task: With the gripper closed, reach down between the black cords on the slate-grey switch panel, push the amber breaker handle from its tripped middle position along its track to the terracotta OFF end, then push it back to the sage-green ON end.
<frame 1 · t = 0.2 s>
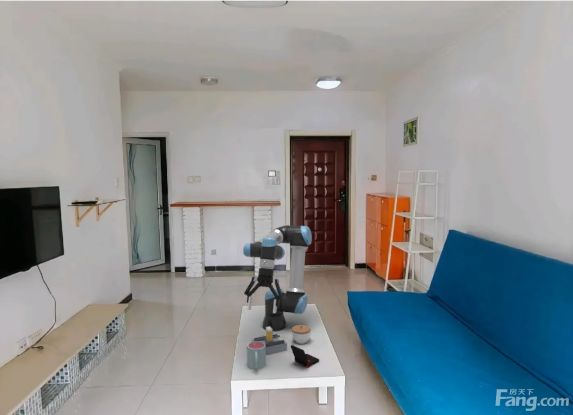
hand: (261, 311, 183), 27 cm above the table, tool tilted 20°, fingers open, 13 cm apart
lidded jar: (301, 341, 211), on the table
handheld gaming console: (304, 363, 187), on the table
switch panel: (269, 348, 203), on the table
breaker handle: (269, 334, 202), point 8 cm above the table, slide at 0.0 cm
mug: (256, 367, 183), on the table
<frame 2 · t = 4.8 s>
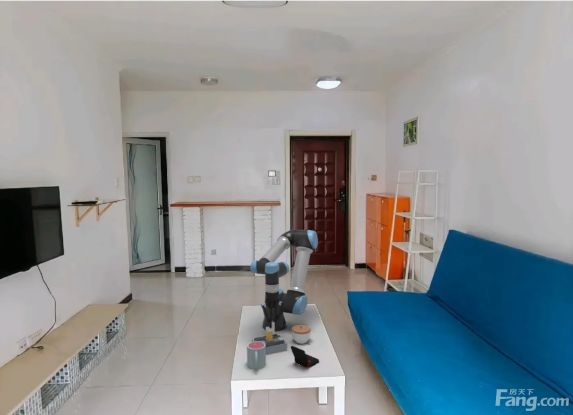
hand: (272, 333, 203), 9 cm above the table, tool pointing down, fingers closed
breaker handle: (269, 334, 202), point 8 cm above the table, slide at 0.0 cm, touching gripper
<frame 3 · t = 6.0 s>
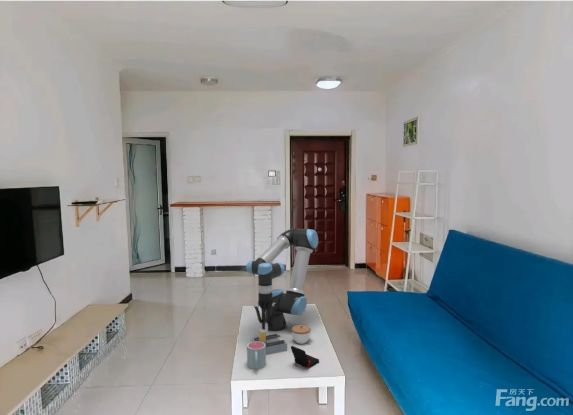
hand: (265, 334, 201), 8 cm above the table, tool pointing down, fingers closed
breaker handle: (262, 335, 200), point 8 cm above the table, slide at 3.9 cm, touching gripper
everything else where it was.
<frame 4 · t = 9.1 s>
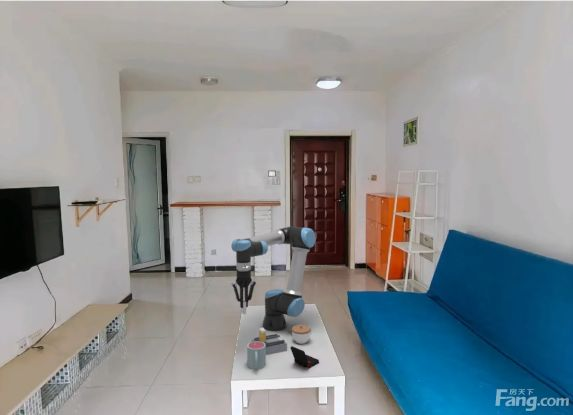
hand: (244, 313, 195), 22 cm above the table, tool pointing down, fingers closed
breaker handle: (262, 335, 200), point 8 cm above the table, slide at 3.9 cm
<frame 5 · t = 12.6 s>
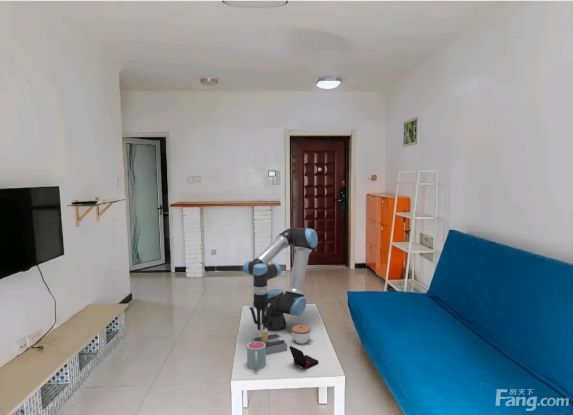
hand: (261, 335, 200), 8 cm above the table, tool pointing down, fingers closed
breaker handle: (264, 335, 201), point 8 cm above the table, slide at 2.6 cm, touching gripper
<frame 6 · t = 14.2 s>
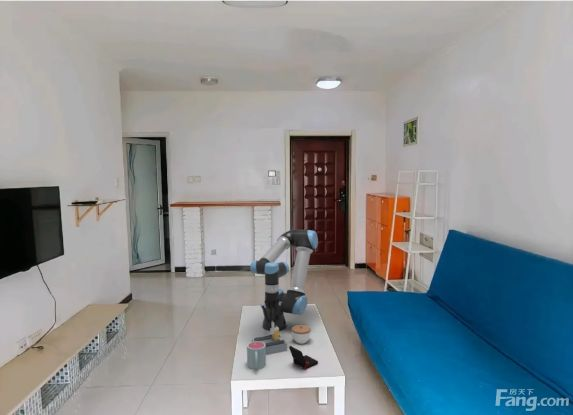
hand: (272, 333, 203), 8 cm above the table, tool pointing down, fingers closed
breaker handle: (275, 333, 204), point 8 cm above the table, slide at -3.8 cm, touching gripper
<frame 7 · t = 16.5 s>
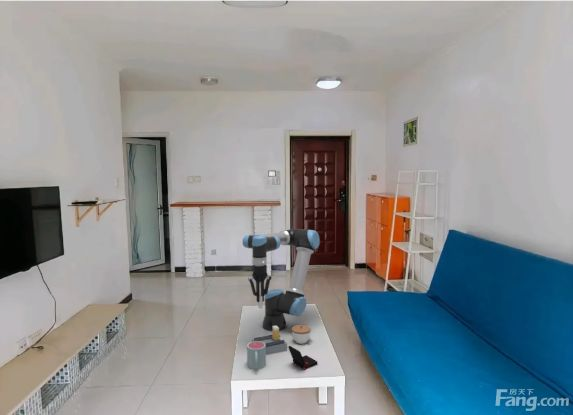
hand: (260, 307, 199), 24 cm above the table, tool pointing down, fingers closed
breaker handle: (275, 333, 204), point 8 cm above the table, slide at -3.9 cm
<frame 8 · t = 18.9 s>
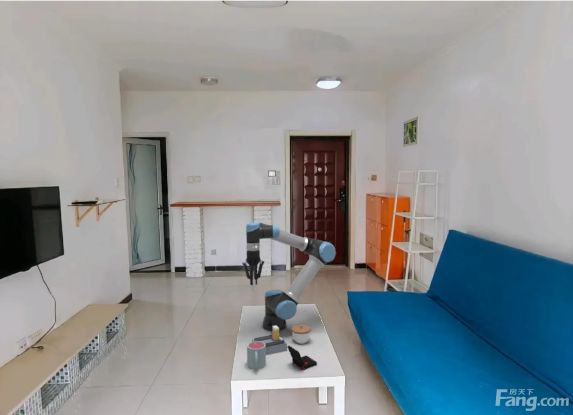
hand: (253, 290, 212), 29 cm above the table, tool pointing down, fingers closed
at the end: breaker handle slide at -3.9 cm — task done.
